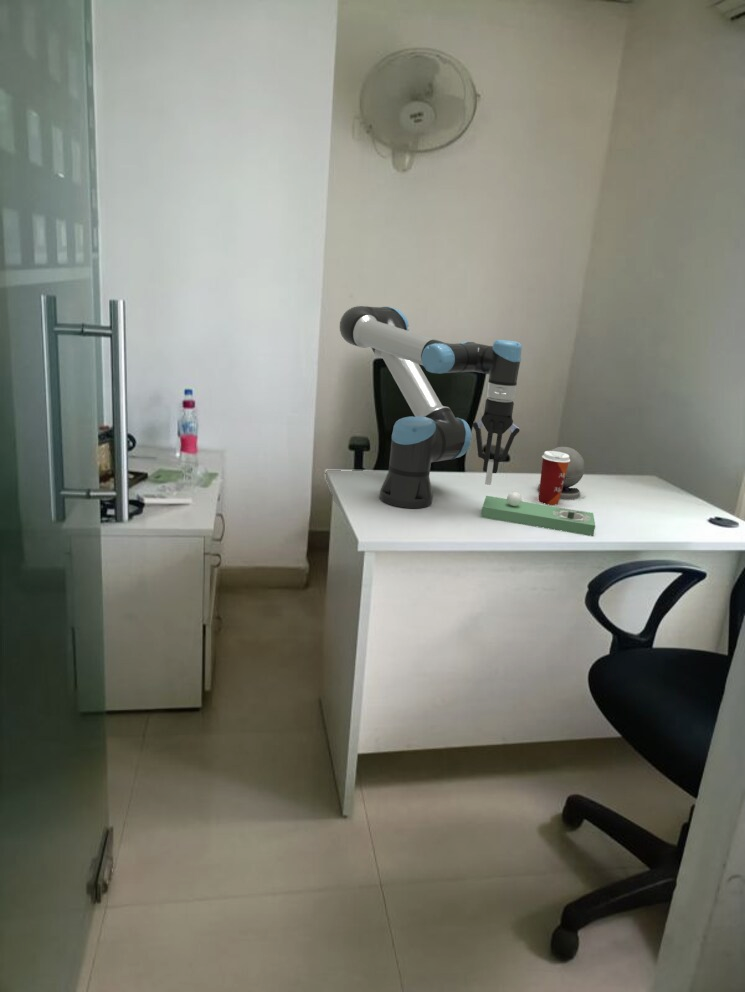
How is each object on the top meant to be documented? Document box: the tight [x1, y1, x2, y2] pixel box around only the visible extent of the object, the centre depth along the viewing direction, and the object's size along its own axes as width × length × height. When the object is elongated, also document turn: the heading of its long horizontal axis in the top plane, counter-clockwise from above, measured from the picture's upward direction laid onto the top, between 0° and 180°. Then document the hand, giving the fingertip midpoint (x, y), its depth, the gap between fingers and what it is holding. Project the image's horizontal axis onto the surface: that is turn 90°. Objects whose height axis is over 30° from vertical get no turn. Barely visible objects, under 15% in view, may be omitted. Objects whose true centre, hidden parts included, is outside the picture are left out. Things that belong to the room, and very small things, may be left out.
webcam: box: [537, 446, 586, 501], centre depth 221 cm, size 13×13×15 cm
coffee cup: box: [537, 450, 570, 506], centre depth 212 cm, size 8×8×15 cm
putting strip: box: [480, 495, 596, 537], centre depth 196 cm, size 30×11×3 cm, turn 76°
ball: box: [506, 491, 522, 506], centre depth 196 cm, size 4×4×4 cm
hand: (488, 483), depth 197 cm, fingers closed
